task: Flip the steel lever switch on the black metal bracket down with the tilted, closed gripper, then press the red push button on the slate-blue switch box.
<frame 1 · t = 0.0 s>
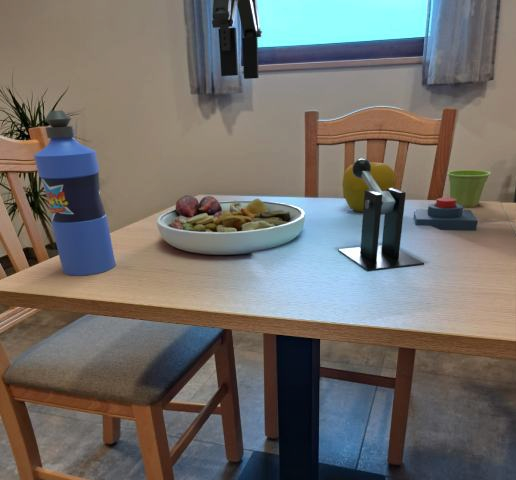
hand: (241, 77, 82), 29 cm above the table, tool pointing down, fingers open, 13 cm apart
water bottle: (89, 268, 83), on the table
plant pot: (462, 210, 113), on the table
button box: (442, 224, 101), on the table
apple: (366, 210, 117), on the table
switch lever: (372, 184, 78), point 12 cm above the table, hinge at 25.0°
bowl: (232, 239, 97), on the table
red button: (445, 203, 99), point 4 cm above the table, slide at 0.1 cm
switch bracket: (378, 262, 79), on the table
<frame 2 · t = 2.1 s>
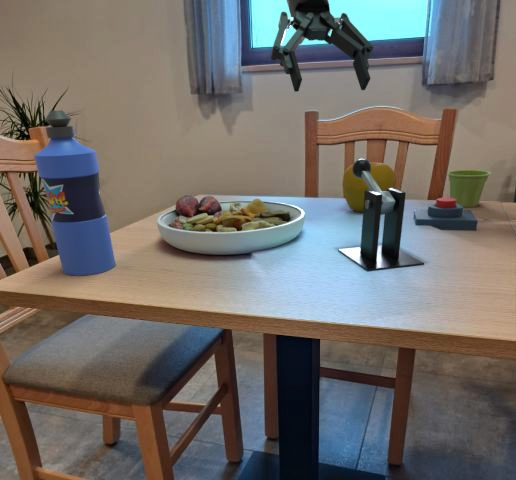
hand: (332, 85, 86), 27 cm above the table, tool tilted 45°, fingers open, 13 cm apart
nothing on the table moved.
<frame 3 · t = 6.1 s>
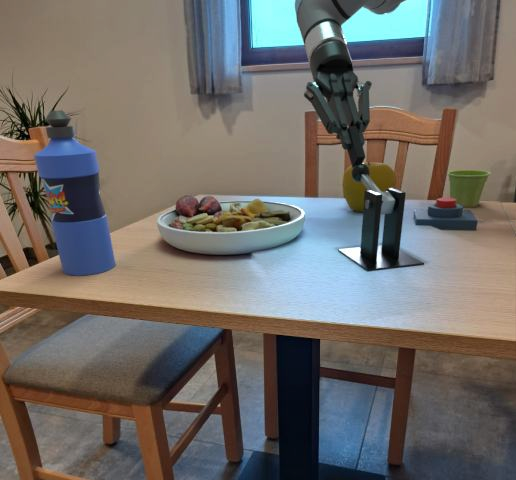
hand: (358, 162, 81), 15 cm above the table, tool tilted 45°, fingers closed
switch lever: (371, 187, 78), point 12 cm above the table, hinge at 20.4°, touching gripper
everything else where it was.
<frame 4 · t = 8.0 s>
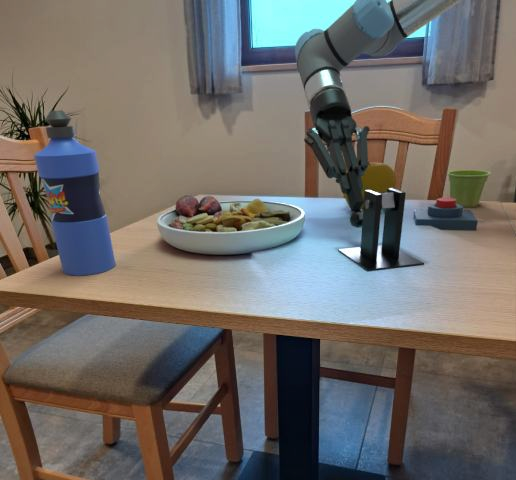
hand: (357, 206, 84), 8 cm above the table, tool tilted 45°, fingers closed
switch lever: (370, 211, 80), point 8 cm above the table, hinge at -26.1°, touching gripper
everything else where it was.
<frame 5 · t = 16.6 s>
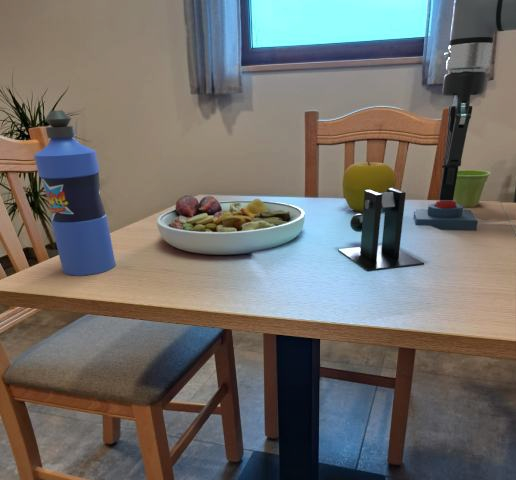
hand: (445, 199, 99), 5 cm above the table, tool pointing down, fingers closed
switch lever: (370, 213, 80), point 7 cm above the table, hinge at -30.5°
red button: (445, 205, 99), point 4 cm above the table, slide at -0.2 cm, touching gripper
everything else where it was.
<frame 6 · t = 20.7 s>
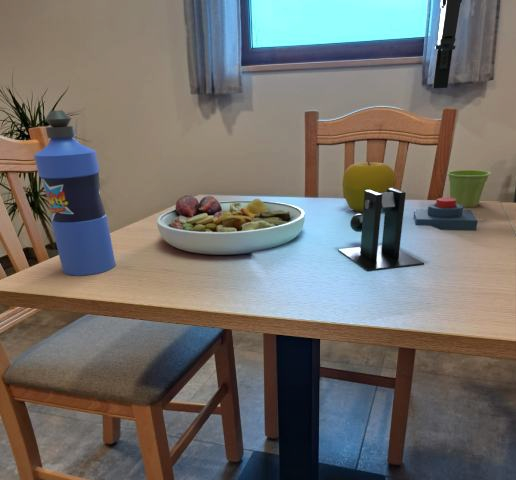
hand: (439, 87, 93), 26 cm above the table, tool pointing down, fingers closed
red button: (445, 203, 99), point 4 cm above the table, slide at 0.1 cm
everything else where it was.
at the end: switch lever at -30° (first picture: +25°); red button pushed in 1.0 cm at the most during the clip, back to where it started at the end; red button slide at 0.1 cm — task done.
